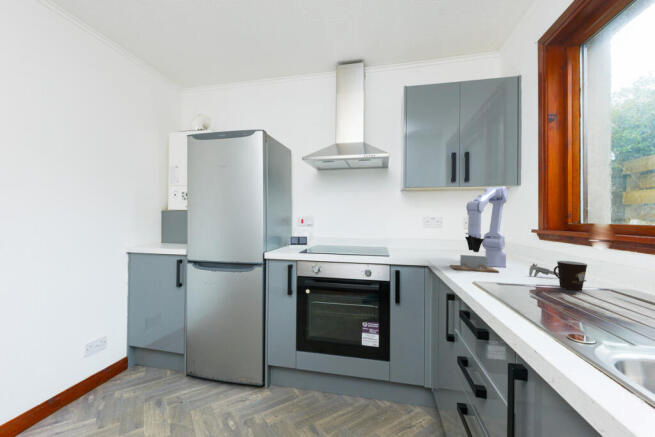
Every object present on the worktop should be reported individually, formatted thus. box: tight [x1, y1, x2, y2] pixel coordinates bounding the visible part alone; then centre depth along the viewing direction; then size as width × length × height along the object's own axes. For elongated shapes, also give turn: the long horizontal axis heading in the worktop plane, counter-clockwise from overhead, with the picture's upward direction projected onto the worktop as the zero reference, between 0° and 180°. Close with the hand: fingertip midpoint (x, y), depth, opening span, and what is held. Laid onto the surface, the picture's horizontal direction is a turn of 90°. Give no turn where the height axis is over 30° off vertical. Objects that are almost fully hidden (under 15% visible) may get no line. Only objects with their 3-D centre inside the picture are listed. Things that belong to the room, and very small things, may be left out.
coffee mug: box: [553, 260, 588, 292], centre depth 104 cm, size 12×9×10 cm
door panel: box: [459, 254, 487, 268], centre depth 137 cm, size 12×2×6 cm, turn 78°
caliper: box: [528, 263, 587, 282], centre depth 121 cm, size 20×1×6 cm, turn 67°
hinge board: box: [449, 263, 500, 274], centre depth 137 cm, size 20×10×3 cm, turn 78°
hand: (473, 251), depth 137 cm, fingers open, 7 cm apart
